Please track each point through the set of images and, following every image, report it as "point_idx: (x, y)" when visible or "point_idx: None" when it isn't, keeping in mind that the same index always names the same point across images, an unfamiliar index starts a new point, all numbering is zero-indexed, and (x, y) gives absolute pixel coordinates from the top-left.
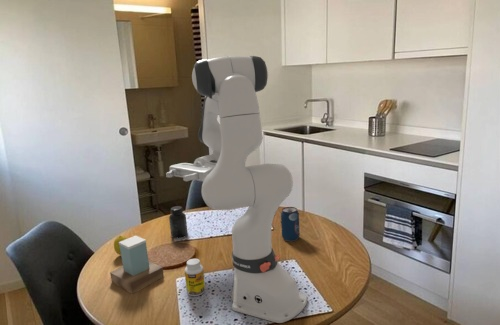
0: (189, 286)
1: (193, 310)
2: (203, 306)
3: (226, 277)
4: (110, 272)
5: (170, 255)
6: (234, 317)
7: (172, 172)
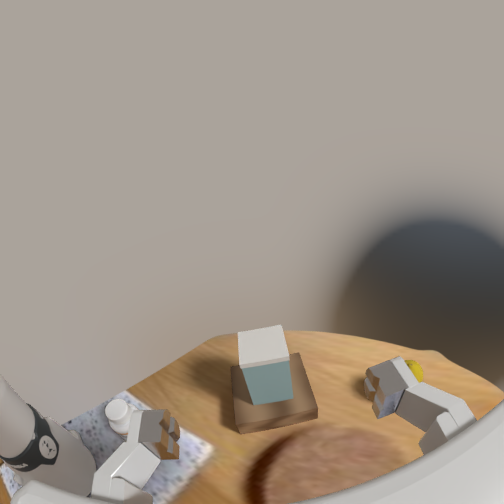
0: None
1: None
2: None
3: None
4: (298, 352)
5: (325, 480)
6: (72, 424)
7: (427, 412)
